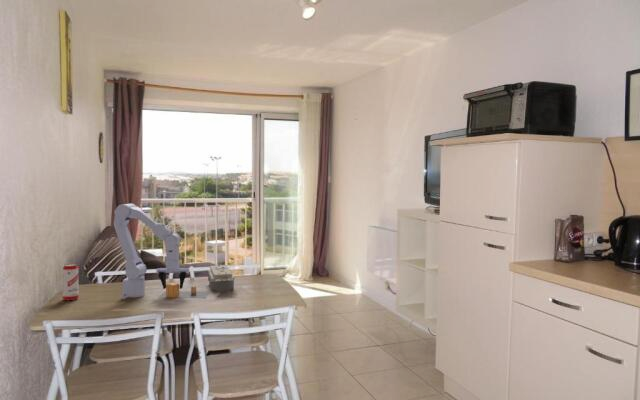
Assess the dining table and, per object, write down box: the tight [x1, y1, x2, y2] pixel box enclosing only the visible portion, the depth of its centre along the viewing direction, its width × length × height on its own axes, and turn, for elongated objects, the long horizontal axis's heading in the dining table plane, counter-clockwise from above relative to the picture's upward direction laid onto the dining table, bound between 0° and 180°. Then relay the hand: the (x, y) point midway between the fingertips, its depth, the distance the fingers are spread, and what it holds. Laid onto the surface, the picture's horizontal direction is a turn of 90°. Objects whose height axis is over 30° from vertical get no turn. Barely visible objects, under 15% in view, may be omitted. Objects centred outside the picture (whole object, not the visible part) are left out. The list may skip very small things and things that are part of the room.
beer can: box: [62, 263, 80, 301], centre depth 204 cm, size 6×6×16 cm
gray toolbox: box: [207, 264, 235, 293], centre depth 229 cm, size 12×28×10 cm, turn 20°
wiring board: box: [157, 285, 211, 299], centre depth 211 cm, size 22×12×5 cm, turn 93°
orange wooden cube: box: [165, 282, 180, 297], centre depth 209 cm, size 6×6×6 cm
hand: (172, 288), depth 209 cm, fingers open, 7 cm apart
